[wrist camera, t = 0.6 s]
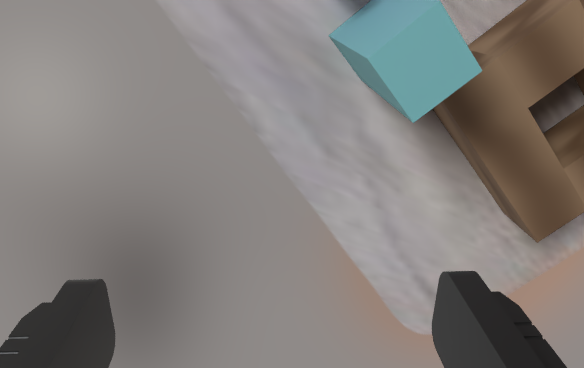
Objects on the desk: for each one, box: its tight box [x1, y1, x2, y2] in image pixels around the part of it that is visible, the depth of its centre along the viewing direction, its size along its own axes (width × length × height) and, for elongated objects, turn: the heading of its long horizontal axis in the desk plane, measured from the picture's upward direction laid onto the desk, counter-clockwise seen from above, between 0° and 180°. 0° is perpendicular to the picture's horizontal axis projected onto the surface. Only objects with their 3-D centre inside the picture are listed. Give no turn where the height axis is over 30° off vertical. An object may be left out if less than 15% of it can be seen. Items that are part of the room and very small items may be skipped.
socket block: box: [433, 0, 584, 242], centre depth 33 cm, size 14×14×5 cm
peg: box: [329, 0, 482, 123], centre depth 27 cm, size 4×4×12 cm
